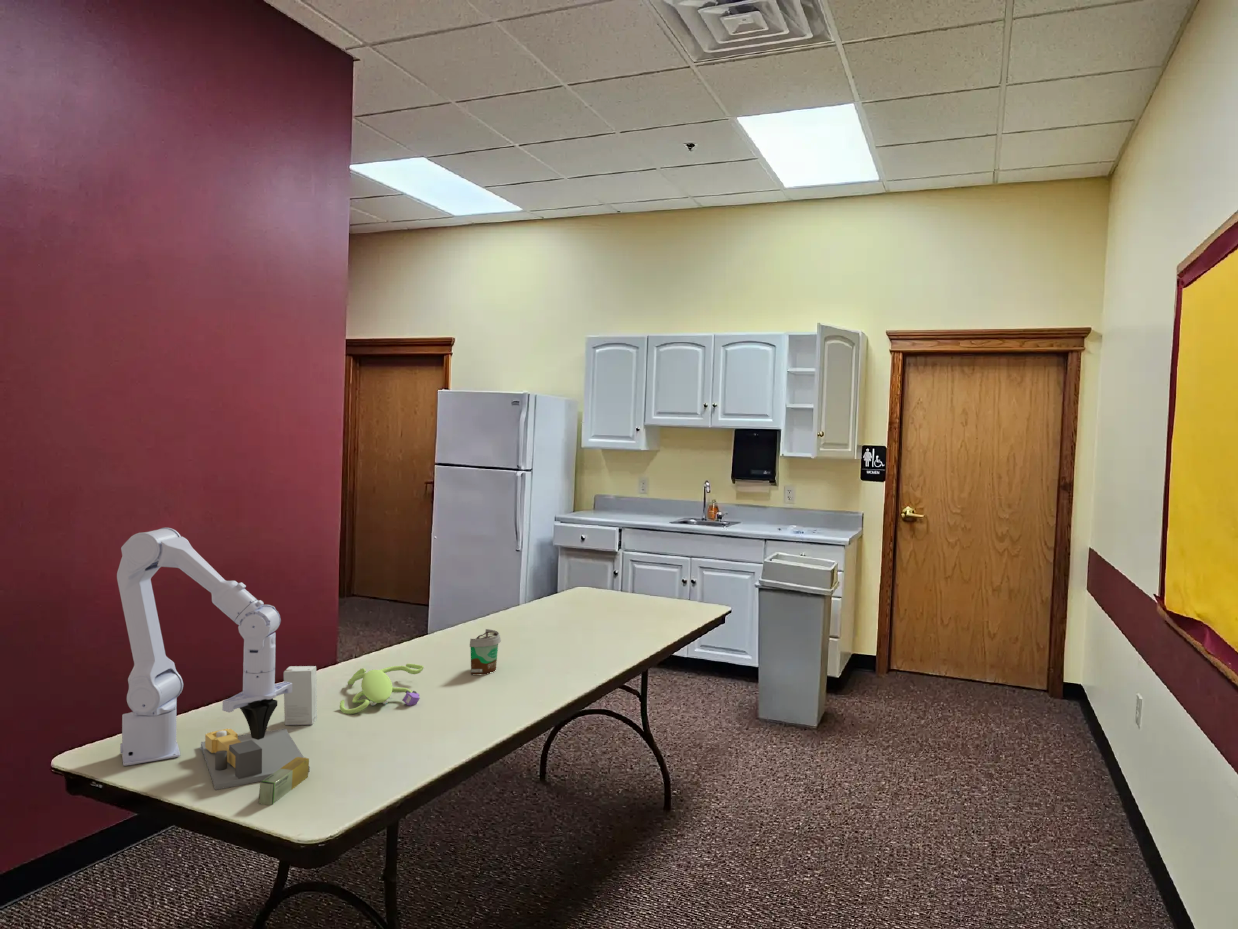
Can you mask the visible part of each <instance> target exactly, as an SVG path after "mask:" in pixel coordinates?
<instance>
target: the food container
mask: <svg viewBox="0 0 1238 929" xmlns="http://www.w3.org/2000/svg"><path fill="white" fill-rule="evenodd" d="M500 643H502V639H501V635H500V632H499V631H497V630H494V629H489V628H485V632H484V633H482V634H479V635H478V636H477V637H476V638H470V640H469V648H470V675H471V674H486V675H488V674H487V673H490V672H493V671H495V670H496V671H497V662H498V650H499V644H500ZM496 671H495V672H496ZM493 673H494V672H493Z"/></svg>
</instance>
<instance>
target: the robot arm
mask: <svg viewBox="0 0 1238 929" xmlns="http://www.w3.org/2000/svg"><path fill="white" fill-rule="evenodd" d="M120 550H121V556H122V557H121V559H120V562H119V566H118V569H117V573H116V580H117V585H118V591H119V594H120V599H121V605H122V606H121V607H122V611H123V616H124V620H125V624H126V630H127V634H128V641H129V644H130V650H131V653H132V659H133V667H132V670H131V671H130V673H129V676H128V678H127V682H128V691H127V694H126V702H127V706H128V707H129V709H130V710H131V712H128V713H123V714H122V717H121V718H122V720H121V727H122V728H121V738H122V739H121V743H120V744H119V745H120V748H119V751H120V754H121V756H122V766H124V767H125V766H132V765H137V764H143V763H150V762H155V761H162V760H167V759H173V758H179V757H180V756H181V752H180V749H179V744H178V741H177V706H178V705H177V703H178V702H177V701H178V700H177V698H178V697H179V696H180V694H182V691H183V689H184V681H183V678H182V676H181V674H179V672H178V671H177V669H176V665H175V664H176V663H175V662H174V661H173V660H171V659H170V658H169V657H168V656H167V655H166V649H165V644H164V640H163V635H162V630H161V624H160V620H159V616H158V610H157V605H156V599H155V595H154V590H153V585H152V580H151V579H152V577H153V576H155V574H156V573H158V570H159V569H160V568H162V567H163V568H174V569H175V568H177V569H180V570H181V571H182V572H183V573H184V574H186V575H187V576H188V577H189V578H191V579H192V580H194V581H195V582H196V583H198V584H199V585H200V586H201V587H202V588H204V589H206V590H207V591H208V592H209V593H210V595H211V602H212V604H213V605H214V606H216V607H217V609H219V610H220V611H221V612H222V613H223V614H225V615H226V616H227V617H228V618H229V619H230V620H232V622H234V623H235V624H236V625H238V627H237V629H238V633H239V634H240V637H242V639H243V663H242V666H243V667H242V669H243V671H242V672H243V673H242V691H241V692H239V693H237V694H234V695H233V696H230V697H229V698H227V699H223V700H222V711H223V712H227V713H233V712H234V710H237V709H240V711H241V712H242V713H243V714H242V715H244V718H245V720H246V722H247V726H248V728H249V734H251V737H252V738H254V739H257V740H259V739H262V738H264V736H265V732H266V731H267V728H268V725H269V722H270V719H271V717H272V715H273V713H274V712H275V710H276V708H277V706H278V700H277V699H275V698H277V697H278V696H280V695H284V693H292V683H290V682H284V681H283V682H279V683H275V682H276V631H277V630H278V629H279V628H280V625H281V622H282V619H281V615H280V613H279V611H278V610H277V609H276V607H275V606H274V605H271V604H264V601H263V600H261V599H260V600H259V599H257V597H255V596H254V595H252V593H250V591H248V590H247V589H246V587H247V585H246V584H244V582H237V581H236V580H226V579H225V578H224V577H222V575H220V573H219V572H217V570H216V569H215V568H213V566H212V565H210V564H209V562H208V561H206V559H204V557H202V556H201V555H200V554H199V553H198V552H197V551H196V549H194V548H193V546H192V545H191V543H190V542H189V540H188V539H187V538H186V537H184V536H182V535H181V534H180V533H179V532H178V531H177V530H176V529H174V528H171V527H161V528H159V529H154V530H149V531H145V532H138V533H135V534H133V535H131V536H130V537H129V538H128V539H127V540H126V541H125V542H124V543H123V545H122V546H121V548H120Z"/></svg>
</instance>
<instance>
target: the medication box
mask: <svg viewBox="0 0 1238 929" xmlns="http://www.w3.org/2000/svg"><path fill="white" fill-rule="evenodd" d="M309 766H310V758H307V757H304V758H302V757H296V758H295V759H293V760H292V761H290V762H289V763H287V764H286V765H285V766H283V767H282V768H280V769H279V770H277V771H276V772H274V773H273V774H272V775H270V776H269V777H267V778H266V779H264V780H263V781H259V792H258V805H263V806H273V805H274V804H276V802H278V801H279V800H281V799H282V798H283V797H285V796H286V795H288V793H290V792H291V791H292V790H293V789H295V788H296V787H298V786H299V785H300V784H301V783H302V782H304V781H306V779H308V778H309V772H308V771H309Z"/></svg>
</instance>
